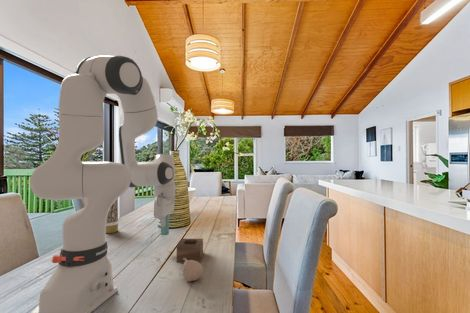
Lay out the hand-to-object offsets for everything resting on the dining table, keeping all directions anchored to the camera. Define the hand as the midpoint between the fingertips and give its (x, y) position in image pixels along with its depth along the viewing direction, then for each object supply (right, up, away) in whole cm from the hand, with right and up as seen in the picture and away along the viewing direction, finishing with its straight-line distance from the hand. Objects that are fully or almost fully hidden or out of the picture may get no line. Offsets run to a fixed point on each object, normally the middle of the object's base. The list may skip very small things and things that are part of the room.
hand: (164, 225), depth 108 cm
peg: (0, -4, 0) cm, 4 cm away
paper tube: (-37, -12, +31) cm, 50 cm away
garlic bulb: (+16, -12, -24) cm, 31 cm away
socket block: (+12, -11, -5) cm, 17 cm away
